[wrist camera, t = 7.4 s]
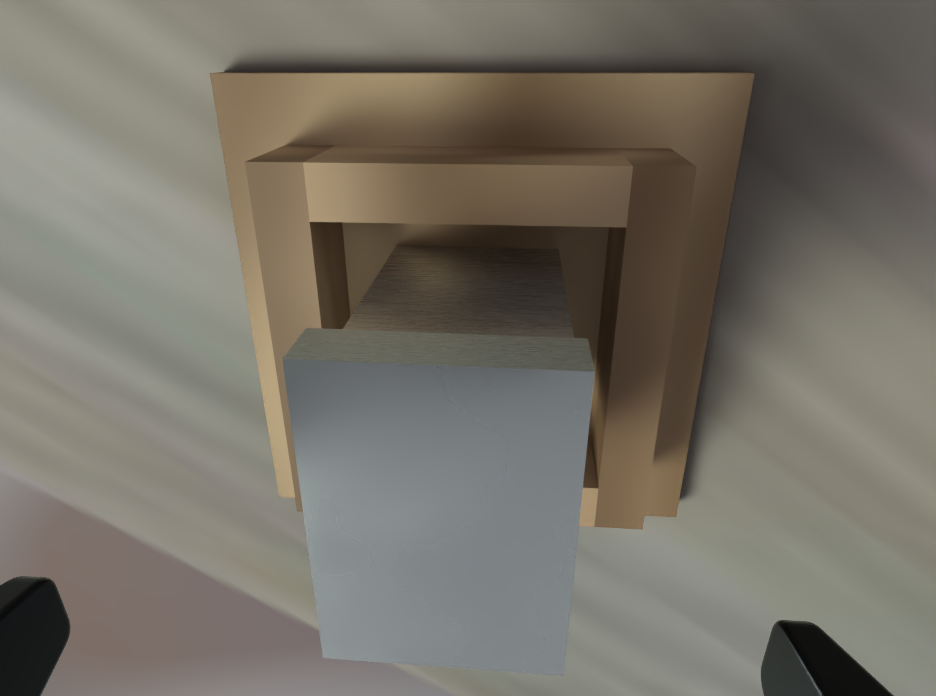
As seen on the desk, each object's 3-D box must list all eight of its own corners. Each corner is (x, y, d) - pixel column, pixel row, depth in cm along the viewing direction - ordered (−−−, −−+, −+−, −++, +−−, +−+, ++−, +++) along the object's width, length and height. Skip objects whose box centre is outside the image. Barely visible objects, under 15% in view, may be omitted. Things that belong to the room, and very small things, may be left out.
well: (745, 72, 14) (799, 78, 11) (672, 503, 19) (696, 578, 16) (221, 72, 15) (154, 78, 12) (285, 484, 20) (248, 552, 17)
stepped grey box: (560, 216, 15) (595, 371, 8) (547, 416, 18) (563, 675, 10) (395, 212, 15) (282, 358, 8) (404, 410, 18) (323, 657, 11)
